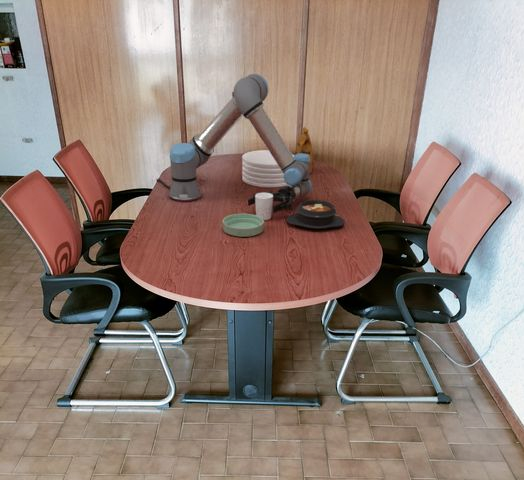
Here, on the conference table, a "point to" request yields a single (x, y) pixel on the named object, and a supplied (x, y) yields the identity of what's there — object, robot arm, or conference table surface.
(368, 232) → the conference table surface
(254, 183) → the plate stack
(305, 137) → the coffee package
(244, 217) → the basin
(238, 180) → the conference table surface
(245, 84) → the robot arm
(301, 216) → the casserole
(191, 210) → the conference table surface
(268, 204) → the white cup
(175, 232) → the conference table surface
